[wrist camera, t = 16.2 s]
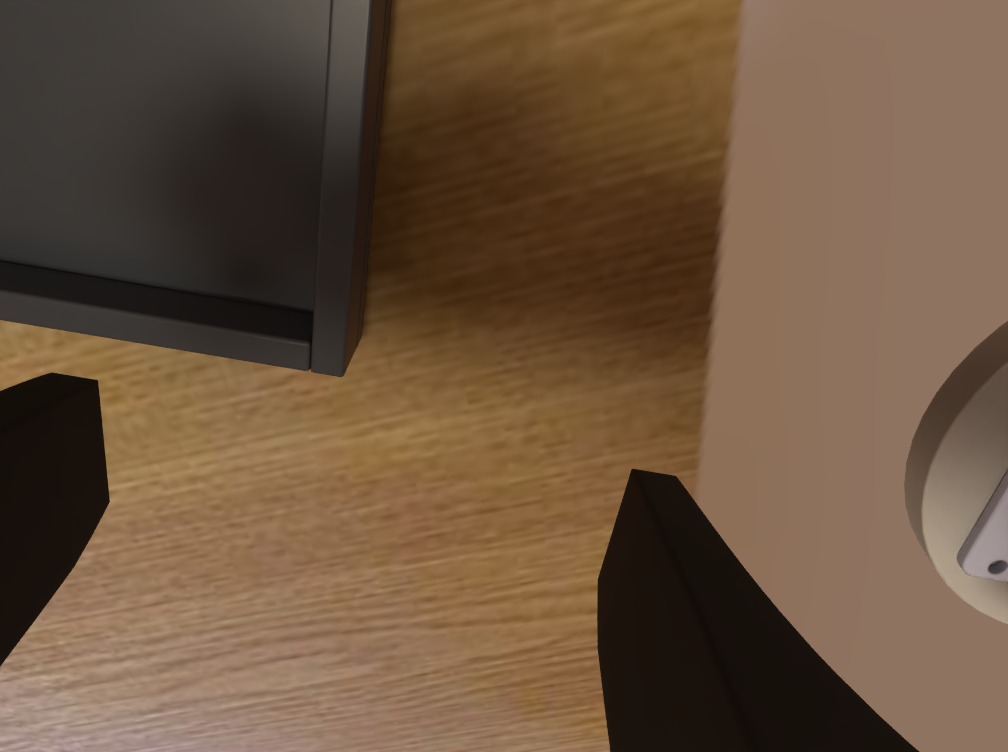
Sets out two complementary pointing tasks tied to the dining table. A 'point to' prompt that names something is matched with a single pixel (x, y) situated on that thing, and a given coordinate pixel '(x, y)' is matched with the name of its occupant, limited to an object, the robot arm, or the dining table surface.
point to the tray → (192, 172)
